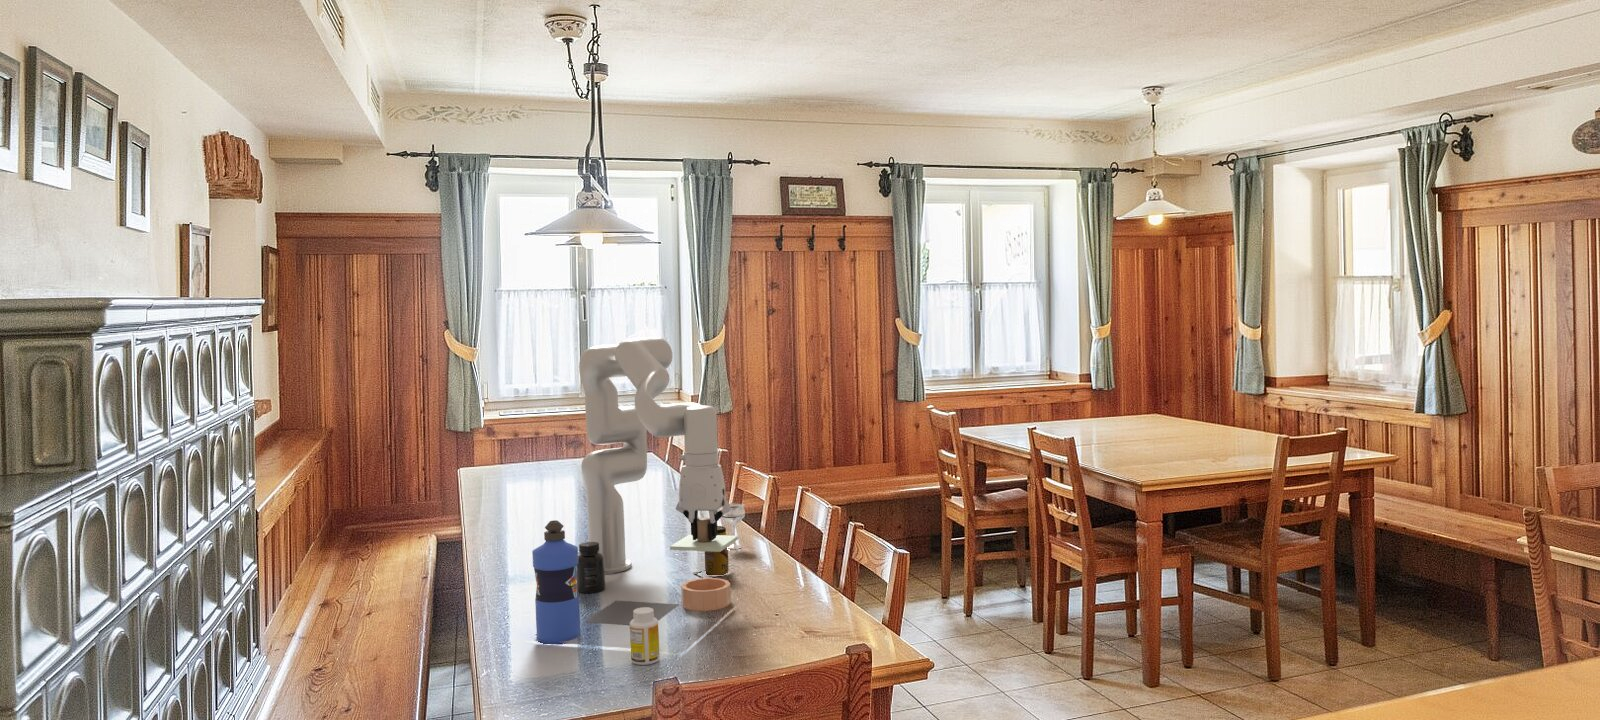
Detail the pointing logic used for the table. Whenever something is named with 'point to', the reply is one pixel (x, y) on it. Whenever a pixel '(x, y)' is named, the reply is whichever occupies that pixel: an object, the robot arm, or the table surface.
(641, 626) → the supplement bottle
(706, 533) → the lid
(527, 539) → the table surface
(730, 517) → the wineglass
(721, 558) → the condiment
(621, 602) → the mat
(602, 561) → the supplement bottle
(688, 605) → the bowl
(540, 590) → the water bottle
